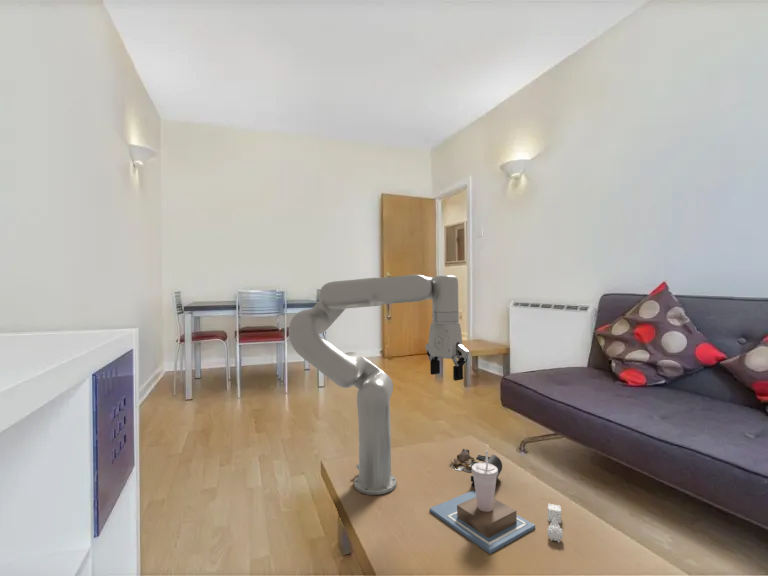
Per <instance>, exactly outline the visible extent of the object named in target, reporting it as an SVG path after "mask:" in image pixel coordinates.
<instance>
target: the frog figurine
mask: <svg viewBox="0 0 768 576" xmlns="http://www.w3.org/2000/svg"><path fill="white" fill-rule="evenodd" d="M453 461H454V462H453ZM473 462H477V460H476V458H474V457H473V456H471V454H470V449H467V448H466V449H465V448H462V450H461V452H460V453H459V454H457V455H456V458H454V459H453V460H450V468H453V470H454V471H458V472H462V471H463V470H464V471H465V472H466V473H472V472H471V464H472V463H473ZM478 463H481V461H478ZM460 465H461V466H460ZM455 466H459V467H457V468H458V469H456V468H455ZM460 467H462V468H460ZM454 468H455V469H454ZM464 471H463V472H464Z"/></svg>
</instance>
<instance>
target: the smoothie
mask: <svg viewBox="0 0 768 576" xmlns="http://www.w3.org/2000/svg"><path fill="white" fill-rule="evenodd" d="M485 456H486V463H483V462H480V463H479V462H478V463H476V464H474V465H472V470H471V471H472V472H471V473H472V476H473V477H474V484H475V487H474V489H475V490H474V491H475V492H476V499H477V506H478V509H479V510H481V511H485V512H489V511H492V510H493V504H494V499H495V494H496V484H497V480H496V477H497V475H498V468H497V467H496V466H494V465H492V464H489V463H488V457H489V450H488V449H486V450H485Z"/></svg>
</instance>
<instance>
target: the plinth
mask: <svg viewBox="0 0 768 576" xmlns="http://www.w3.org/2000/svg"><path fill="white" fill-rule="evenodd" d="M517 515H518V514H517V510H516V509H514V508H513V507H511V506H509V505H508V504H505V503H503V502H501V501H500V500H498V499H496V498H494V504H493V510H492V511H489V512H485V511H481V510H479V509H478V506H477V499H476V497H475V498H472V499H470V500H468V501H466V502H463V503H461V504H459V505H457V517H458V518H459V519H461V520H462V521H464V522H465V523H467V524H468V525H470V526H471V527H473V528H474V529H476V530H477V531H479V532H480V533H482V534H483V535H485V536H486V537H488V538H489V537H491V536H493V535H495V534H497V533H499V532H501V531H503V530H505V529H506V528H508V527H510V526H512V525H514V524H516V523H517Z"/></svg>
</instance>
